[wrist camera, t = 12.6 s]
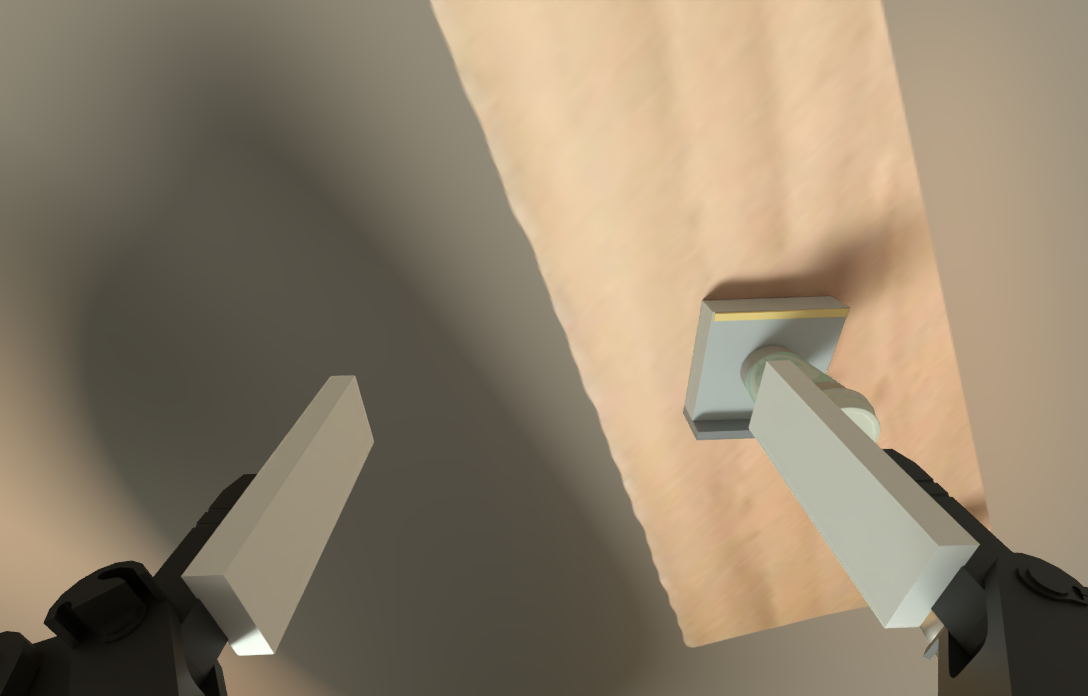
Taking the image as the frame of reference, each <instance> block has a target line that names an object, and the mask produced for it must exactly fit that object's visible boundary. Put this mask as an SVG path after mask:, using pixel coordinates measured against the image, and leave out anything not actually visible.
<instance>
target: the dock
mask: <svg viewBox="0 0 1088 696" xmlns="http://www.w3.org/2000/svg"><path fill="white" fill-rule="evenodd" d="M849 308H850V307H848V306H847V305H845V304H844V303H842V302H840V301H839V300H837V299H836V298H834V297H832V296H818V297H788V298H758V299H728V300H702V305H701V311H700V317H699V323H698V329H697V335H696V341H695V347H694V353H693V358H692V364H691V370H690V376H689V382H688V388H687V394H686V400H685V406H684V412H683V414H684V416H685V418H686V420H687V422H688V424H689V426H690V428H691V430H692V432H693V434H694V436H695V438H696V440H717V439H744V438H755V437H754V436H753V434H752V433H751V431H750V430H749V424H750V420H751V417H752V413H753V409H754V403H753V401H752V399H751V397H750V395H749V394H748V392H747V390H746V388H745V386H744V384H743V382H742V380H741V377H740V370H741V366H742V364H743V362H744V361H745V359H746V358H747V357H748V356H749V355H750V354H751V353H753V352H754V351H756V350H757V349H760V348H762V347H765V346H769V345H779V346H783V347H785V348H787V349H789V350H790V351H792V352H793V353H795V354H796V355H798V356H799V357H801V358H802V359H804V360H805V361H807V362H808V363H810V364H811V365H813V366H814V367H816V368H817V369H819V370H820V371H822V372H823V373H825V374H826V373H827V370H828V367H829V364H830V362H831V359H832V356H833V353H834V350H835V347H836V345H837V342H838V339H839V336H840V333H841V331H842V328H843V325H844V322H845V319H846V317H847V315H848V312H849Z"/></svg>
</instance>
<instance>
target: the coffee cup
mask: <svg viewBox="0 0 1088 696" xmlns="http://www.w3.org/2000/svg"><path fill="white" fill-rule="evenodd" d="M779 360H791V361H792V362H793V363H794V364H795V365H796V366H797V367H798V368H799V369H800V370H801V371H802V372H803V373H804V374H805V375H806V376H807V377H808V378H809V379H810V380H811V381H812V382H813V383H814V384H815V385H816V386H817V387H818V388H819V389H820V390H821V391H823V392H824V393H825V394H826V395H827V396H828V397H829V398H830V399H831V400H832V401H833V402H834V403H835V404H836V405H837V406H838V407H839V408H840V409H841V410H842V411H843V412H844V413H845V414H846V415H847V416H848V417H849V418H850V419H851V420H852V421H853V422H854V423H855V424H856V425H858V426H859V427H860V428H861V429H862V430H863V431H864V432H865V433H866V434H867V435H868V436H869V437H870V438H871V439H872V440H873V441H874V442H875V443H876V442H877V440H878V438H879V434H880V424H879V421H878V419H877V417H876V416H875V411H874V409H873V407H872V406H871V404H870V403H869V402H868V400H867V399H866V398H865V397H864V396H863V395H862V394H860V393H858V392H856V391H854V390H850V389H847V388H845V387H844V386H843V385H841V384H840V383H838V382H837V381H835V380H834V379H832V378H831V377H829V376H828V375H826V374H825V373H823V372H822V371H820V370H819V369H817V368H816V367H814V366H813V365H811V364H810V363H808V362H807V361H805V360H804V359H802V358H801V357H799V356H798V355H796V354H795V353H793V352H792V351H790V350H789V349H787V348H785V347H783V346H779V345H769V346H765V347H762V348H760V349H757V350H756V351H754V352H753V353H751V354H750V355H749V356H748V357H747V358H746V359H745V361H744V362H743V364H742V366H741V370H740V377H741V380H742V382H743V384H744V386H745V388H746V390H747V392H748V394H749V395H750V397H751V399H752V401H753V403H754V405H755V402H756V398H757V394H758V391H759V387H760V383H761V379H762V376H763V372H764V368H765V364H766V361H779Z"/></svg>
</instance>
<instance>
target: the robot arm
mask: <svg viewBox="0 0 1088 696" xmlns="http://www.w3.org/2000/svg"><path fill="white" fill-rule="evenodd" d="M749 430H750V431H751V433H752V434H753V436H754V437H755V438H756V440H757V441H758V443H759V444H760V446H761V447H762V449H763V450H764V452H765V453H766V455H767V456H768V458H769V459H770V461H771V462H772V463H773V465H774V466H775V468H776V469H777V471H778V472H779V474H780V475H781V477H782V478H783V480H784V481H785V483H786V484H787V486H788V487H789V488H790V490H791V491H792V493H793V494H794V496H795V497H796V499H797V500H798V502H799V503H800V505H801V506H802V508H803V509H804V511H805V512H806V513H807V515H808V516H809V518H810V519H811V521H812V522H813V524H814V525H815V527H816V528H817V530H818V531H819V533H820V534H821V536H822V537H823V538H824V540H825V541H826V543H827V544H828V546H829V547H830V549H831V550H832V552H833V553H834V555H835V556H836V558H837V559H838V561H839V562H840V563H841V565H842V566H843V568H844V569H845V571H846V572H847V574H848V575H849V577H850V578H851V580H852V581H853V583H854V584H855V586H856V587H857V588H858V590H859V591H860V593H861V594H862V596H863V597H864V599H865V600H866V602H867V603H868V605H869V606H870V608H871V609H872V611H873V612H874V613H875V615H876V616H877V618H878V619H879V621H880V622H881V624H882V625H883V627H884V628H899V627H920V625H921V624H922V623H923V621H924V620H925V618H926V617H927V616H928V614H929V613H930V612H931V610H932V611H933V612H934V613H935V615H936V616H937V617H938V618H939V620H940V621H941V622H942V623H943V625H944V626H943V628H942V629H941V630H940V631H939V633H938V634H937V635H936V637H935V638H934V639H933V640H932V642H931V643H930V644H929V646H928V647H927V648H926V651H925V653H924V657H926V658H928V659H931V658H932V657H933V655H934V654H935V653H936V652H937V651H938V696H1088V587H1083V586H1082V585H1081V584H1080V583H1079V582H1078V581H1077V580H1076V579H1074V578H1073V577H1071V576H1070V575H1069V574H1067V573H1065V572H1064V571H1063V570H1061V569H1060V568H1058V567H1056V566H1054V565H1052V564H1050V563H1048V562H1046V561H1044V560H1042V559H1040V558H1036V557H1033V556H1030V555H1026V554H1023V553H1013V552H1012V551H1010V550H1009V549H1008V548H1007V547H1006V546H1005V545H1004V544H1003V543H1002V542H1001V541H1000V540H999V539H997V538H996V537H995V536H994V535H993V534H992V533H991V532H990V531H989V530H988V529H987V528H986V527H984V526H983V525H982V524H981V523H980V522H979V521H978V520H977V519H976V518H975V517H974V516H973V515H971V514H970V513H969V512H968V511H967V510H966V509H965V508H964V507H963V506H962V505H961V504H960V503H958V502H957V501H956V500H955V499H954V498H953V497H949V495H948V492H946V491H945V490H944V489H943V488H942V487H941V486H940V485H939V484H938V483H934V481H933V479H932V478H931V477H930V476H929V475H928V474H927V473H926V472H925V471H924V470H923V469H922V468H920V467H919V466H918V465H917V464H916V463H915V462H913V461H911V460H910V459H908V458H906V457H905V456H903V455H901V454H900V453H898V452H897V451H895V450H893V449H881V448H880V447H879V446H878V445H877V444H876V443H875V442H874V441H873V440H872V439H871V438H870V437H869V436H868V435H867V434H866V433H865V432H864V431H863V430H862V429H861V428H860V427H859V426H858V425H856V424H855V423H854V422H853V421H852V420H851V419H850V418H849V417H848V416H847V415H846V414H845V413H844V412H843V411H842V410H841V409H840V408H839V407H838V406H837V405H836V404H835V403H834V402H833V401H832V400H831V399H830V398H829V397H828V396H827V395H826V394H825V393H824V392H823V391H821V390H820V389H819V388H818V387H817V386H816V385H815V384H814V383H813V382H812V381H811V380H810V379H809V378H808V377H807V376H806V375H805V374H804V373H803V372H802V371H801V370H800V369H799V368H798V367H797V366H796V365H795V364H794V363H793V362H792V361H791V360H779V361H766V364H765V368H764V372H763V376H762V379H761V383H760V387H759V391H758V394H757V398H756V402H755V405H754V409H753V413H752V417H751V420H750V424H749ZM373 443H374V440H373V437H372V433H371V430H370V426H369V423H368V419H367V416H366V412H365V409H364V405H363V402H362V398H361V395H360V391H359V388H358V384H357V381H356V378H355V376H331V377H330V378H329V379H328V381H327V382H326V383H325V385H324V386H323V387H322V389H321V390H320V391H319V393H318V394H317V395H316V397H315V398H314V399H313V401H312V402H311V403H310V405H309V406H308V408H307V409H306V410H305V412H304V413H303V414H302V415H301V417H300V418H299V419H298V421H297V422H296V423H295V425H294V426H293V428H292V429H291V430H290V431H289V433H288V434H287V435H286V437H285V438H284V439H283V441H282V442H281V443H280V445H279V446H278V448H277V449H276V450H275V451H274V453H273V454H272V456H271V457H270V458H269V460H268V461H267V462H266V463H265V465H264V466H263V467H262V469H261V470H260V472H259V473H258V474H244V475H242V476H241V477H240V478H239V479H237V480H236V481H235V482H233V483H232V484H231V485H230V486H228V487H227V488H226V489H224V490H223V491H222V492H221V494H220V495H219V496H218V497H217V499H216V500H215V501H214V502H213V504H212V505H211V506H210V508H209V511H208V512H205V514H204V515H203V516H202V517H201V519H200V520H199V521H198V522H197V524H196V527H195V528H192V530H191V531H190V532H189V533H188V535H187V536H186V537H185V538H184V540H183V541H182V542H181V543H180V544H179V546H178V547H177V548H176V550H175V551H174V552H173V553H172V554H171V556H170V557H169V558H168V559H167V561H166V562H165V563H164V564H163V566H162V567H161V568H160V569H159V571H158V572H157V573H156V574H155V576H154V577H152V575H151V574H150V573H149V572H148V570H147V569H146V568H145V566H144V565H143V564H142V563H138V562H135V561H125V562H118V563H114V564H112V565H109V566H106V567H104V568H101V569H98V570H97V571H95V572H93V573H92V574H90V575H88V576H86V577H85V578H83V579H81V580H79V581H78V582H77V583H76V584H74V585H73V586H72V587H71V588H70V589H68V590H67V591H66V592H64V593H63V594H62V595H61V596H60V597H59V599H58V600H57V601H56V602H55V603H54V605H53V606H52V607H51V608H50V609H49V612H48V614H47V616H46V619H45V621H44V624H45V625H46V626H48V628H49V629H50V630H51V631H52V632H54V633H55V634H56V635H57V636H56V637H53V638H50V639H47V640H44V641H41V642H38V643H34V644H32V643H31V642H30V641H29V640H27V639H26V638H25V637H24V636H23V635H22V634H21V633H19V632H10V631H6V632H2V633H0V696H227V691H226V686H225V681H224V676H223V671H222V667H221V665H220V664H219V662H218V660H217V658H218V657H219V655H220V653H221V651H222V650H223V648H224V646H225V644H226V643H227V641H228V642H229V644H230V645H231V646H232V648H233V649H234V651H235V652H236V653H237V654H238V655H258V654H259V655H261V654H275V651H276V649H277V647H278V645H279V643H280V641H281V639H282V636H283V634H284V632H285V630H286V628H287V626H288V624H289V622H290V619H291V617H292V615H293V613H294V611H295V609H296V607H297V605H298V603H299V600H300V598H301V596H302V594H303V592H304V590H305V587H306V585H307V583H308V581H309V579H310V577H311V575H312V573H313V571H314V568H315V566H316V564H317V562H318V560H319V558H320V556H321V553H322V551H323V549H324V547H325V545H326V543H327V541H328V539H329V537H330V534H331V532H332V530H333V528H334V526H335V524H336V522H337V519H338V517H339V515H340V513H341V511H342V509H343V507H344V505H345V502H346V500H347V498H348V496H349V494H350V492H351V490H352V488H353V486H354V483H355V481H356V479H357V477H358V475H359V473H360V471H361V468H362V466H363V464H364V462H365V460H366V458H367V456H368V454H369V452H370V449H371V447H372V445H373Z"/></svg>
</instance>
